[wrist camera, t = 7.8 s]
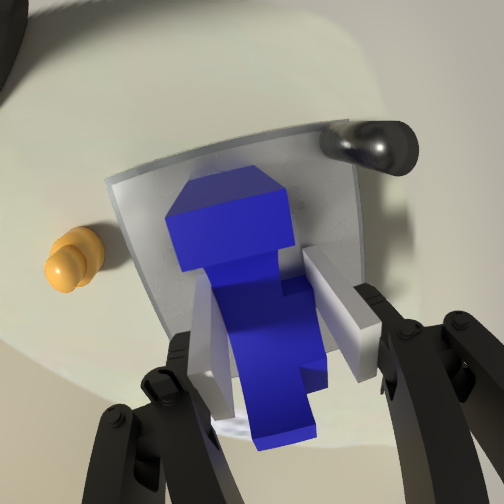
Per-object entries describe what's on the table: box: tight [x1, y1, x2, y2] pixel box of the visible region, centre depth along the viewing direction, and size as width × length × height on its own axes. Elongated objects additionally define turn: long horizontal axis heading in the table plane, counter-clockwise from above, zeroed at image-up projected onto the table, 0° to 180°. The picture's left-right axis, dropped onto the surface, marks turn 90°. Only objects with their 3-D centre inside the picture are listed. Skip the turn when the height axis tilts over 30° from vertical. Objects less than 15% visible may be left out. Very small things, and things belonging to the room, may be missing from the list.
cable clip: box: [165, 165, 328, 451], centre depth 12 cm, size 12×4×6 cm, turn 12°
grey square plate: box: [104, 119, 419, 378], centre depth 14 cm, size 14×12×9 cm
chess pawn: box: [44, 227, 105, 293], centre depth 15 cm, size 3×3×4 cm
